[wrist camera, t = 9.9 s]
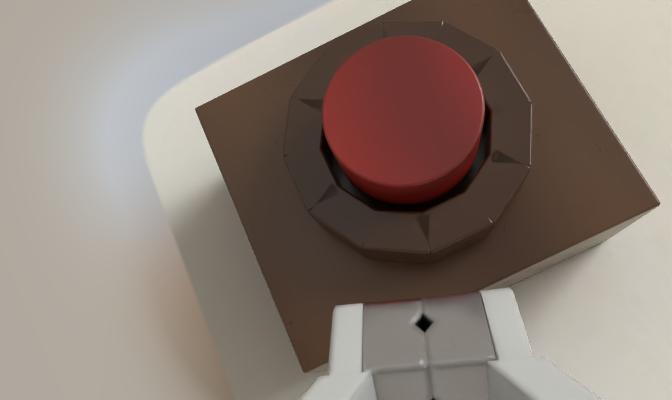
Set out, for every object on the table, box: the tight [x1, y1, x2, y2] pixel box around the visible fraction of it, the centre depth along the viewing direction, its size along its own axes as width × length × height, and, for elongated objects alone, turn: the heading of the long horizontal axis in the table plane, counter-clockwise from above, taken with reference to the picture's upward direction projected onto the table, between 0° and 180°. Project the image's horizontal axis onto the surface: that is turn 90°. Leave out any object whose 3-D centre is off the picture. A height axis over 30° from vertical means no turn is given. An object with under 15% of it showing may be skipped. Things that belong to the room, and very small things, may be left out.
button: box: [322, 36, 485, 205], centre depth 17 cm, size 4×4×2 cm
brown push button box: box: [195, 0, 660, 373], centre depth 21 cm, size 12×10×8 cm
